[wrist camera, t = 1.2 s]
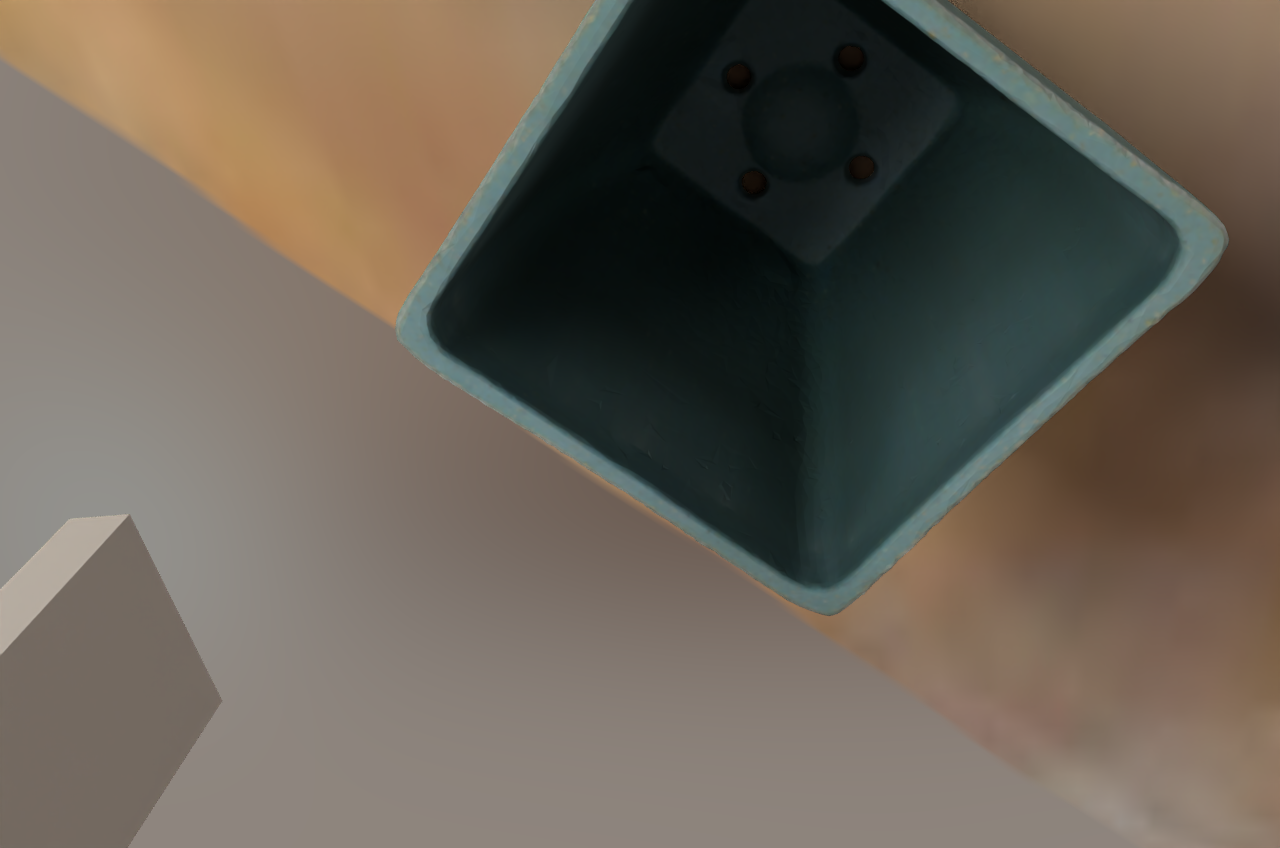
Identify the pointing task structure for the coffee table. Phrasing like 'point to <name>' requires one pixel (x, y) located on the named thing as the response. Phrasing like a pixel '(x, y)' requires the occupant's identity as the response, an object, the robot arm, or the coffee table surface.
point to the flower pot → (801, 272)
